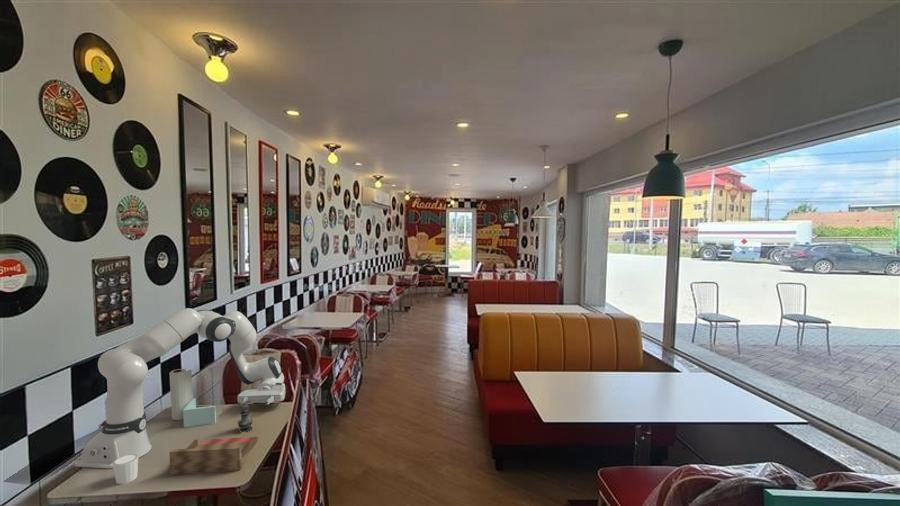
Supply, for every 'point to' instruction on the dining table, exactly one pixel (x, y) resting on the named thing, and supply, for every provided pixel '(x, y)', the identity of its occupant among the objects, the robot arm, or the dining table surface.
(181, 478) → the dining table surface
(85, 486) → the dining table surface
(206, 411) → the l-shaped corner panel
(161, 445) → the dining table surface
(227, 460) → the tray
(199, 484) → the dining table surface
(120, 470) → the white tapered cup
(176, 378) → the paper towel roll
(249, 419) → the stone chess piece
